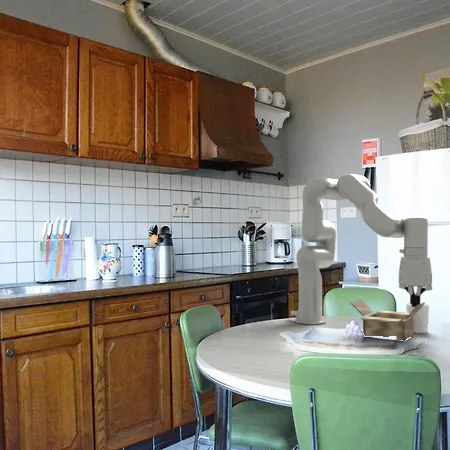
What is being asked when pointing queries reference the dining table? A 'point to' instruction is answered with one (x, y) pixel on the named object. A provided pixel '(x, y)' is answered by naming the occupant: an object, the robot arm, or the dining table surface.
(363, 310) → the flap
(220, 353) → the dining table surface
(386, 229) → the robot arm
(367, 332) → the carton
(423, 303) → the flap
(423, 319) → the white cup
